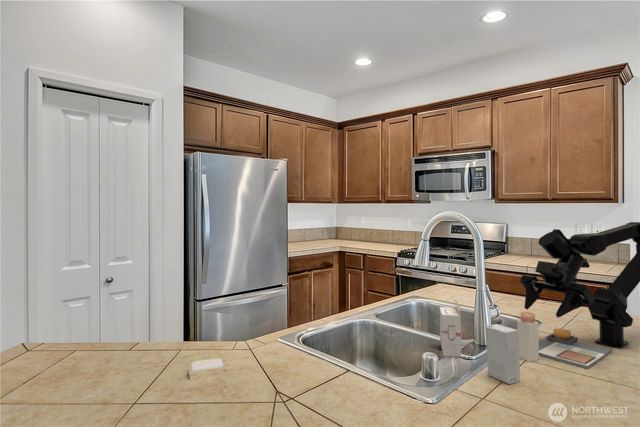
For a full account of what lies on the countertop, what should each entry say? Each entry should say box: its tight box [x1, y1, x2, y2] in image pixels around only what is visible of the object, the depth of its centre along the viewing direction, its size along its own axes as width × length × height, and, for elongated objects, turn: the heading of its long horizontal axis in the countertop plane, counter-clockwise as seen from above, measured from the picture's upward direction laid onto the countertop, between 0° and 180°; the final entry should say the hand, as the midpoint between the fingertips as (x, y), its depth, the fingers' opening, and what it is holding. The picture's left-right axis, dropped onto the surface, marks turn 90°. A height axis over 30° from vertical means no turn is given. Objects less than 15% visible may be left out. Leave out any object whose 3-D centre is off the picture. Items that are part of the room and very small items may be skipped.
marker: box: [516, 311, 540, 363], centre depth 102 cm, size 4×4×12 cm
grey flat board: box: [539, 333, 613, 370], centre depth 107 cm, size 18×16×2 cm
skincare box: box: [485, 323, 521, 385], centre depth 91 cm, size 6×4×12 cm
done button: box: [552, 328, 572, 339], centre depth 113 cm, size 4×4×2 cm
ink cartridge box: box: [439, 297, 462, 358], centre depth 108 cm, size 9×5×15 cm, turn 168°
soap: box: [189, 357, 224, 371], centre depth 97 cm, size 9×7×3 cm
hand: (540, 312), depth 105 cm, fingers open, 9 cm apart
